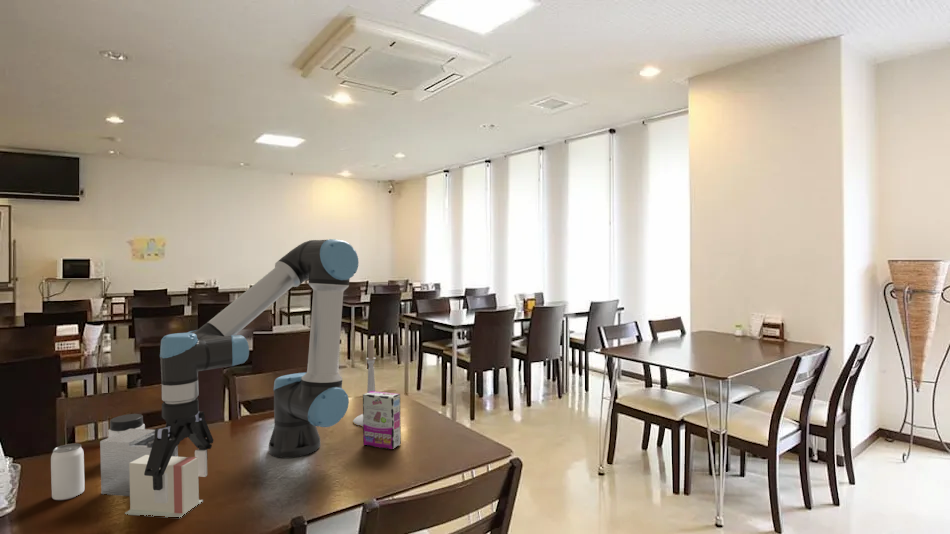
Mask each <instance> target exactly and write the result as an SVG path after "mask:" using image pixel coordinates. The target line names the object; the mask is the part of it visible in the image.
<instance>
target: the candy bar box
mask: <svg viewBox="0 0 950 534" xmlns="http://www.w3.org/2000/svg"><path fill="white" fill-rule="evenodd" d="M362 414H363V427H362V428H363V429H362V430H363V431H362V433H363V434H362V435H363V437H362V439H363V443H362V445H363V446H364V445H367V446H366V447H370V446H373V447H372V448H376V447H379V448H378V449H383V448H387V449H386V450H389V449H394V448H396V447H397V446H399V445H400V444H402V443H401V442H402V440H401V439H402V438H401V437H402V436H401V435H402V434H401V426H402V425H401V393H393V392H386V391H384V392H383V391H382V392H381V391H376V390H375V391H370V392H368V393H367V392H366V393H365V392H364V393H363V394H362ZM400 446H401V445H400ZM400 446H399V447H400ZM397 448H398V447H397ZM397 448H396V449H397ZM394 450H395V449H394Z"/></svg>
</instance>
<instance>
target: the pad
mask: <svg viewBox="0 0 950 534" xmlns="http://www.w3.org/2000/svg"><path fill="white" fill-rule="evenodd" d="M201 502H202V503H204V499H199V503H198V504H199V505H201V504H202V503H201ZM198 504H197V505H198ZM197 505H195V506H196V507H198V506H199V505H198V506H197ZM195 506H194V507H195ZM194 507H193V508H194ZM196 507H195V508H196ZM195 508H194V509H195ZM191 509H192V508H191ZM191 509H190V510H191ZM190 510H188V511H190ZM192 510H193V509H192ZM192 510H191V511H192ZM188 511H187V512H188ZM191 511H190V512H191ZM187 512H186V513H187ZM186 513H173V512H159V511H146V510H133V509H130V508H129V510H127V511H125V512H124V515H125V514H126V515H127V514H128V516H140V515H144V516H143V517H149V516H148V515H151V516H150V517H154V516H165V517H164V518H168V517H179V518H178V519H181V518H183V517H184V516H185V515H187V514H188V513H189V512H188V513H187V514H186ZM184 514H185V515H184ZM146 515H147V516H146ZM152 515H153V516H152ZM183 515H184V516H183ZM182 516H183V517H182ZM180 517H181V518H180Z"/></svg>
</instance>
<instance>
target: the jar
mask: <svg viewBox="0 0 950 534" xmlns="http://www.w3.org/2000/svg"><path fill="white" fill-rule="evenodd" d="M128 429H146V425H145V423H144V416H143V415H142V414H140V413H130V414H129V413H128V414H122V415H118V416H114V417H112V418H111V419H110V420H109V429H108V430H107V436H108V437H107V438H109V437H111V436H114V435H116V434H118V433H121V432H123V431H125V430H128Z"/></svg>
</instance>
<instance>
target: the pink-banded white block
mask: <svg viewBox="0 0 950 534" xmlns="http://www.w3.org/2000/svg"><path fill="white" fill-rule="evenodd" d="M148 459H149V455H144V456H142V457H140V458H138V459H136V460H134V461H132V462H130V463H129V473H130V496H129V506H130V507H129V510H130V509H133V510H146V511H159V512H173V513H186V512H187V511H188V510H190V509H191V508H193V507H194V506H195V505H197V504H198V503H199V500H200V493H199V489H200V488H199V476H198V458H196V457H195V456H187V457H186V456H178V457H175V456H171V459H170V461H169V463H168V465H167V468H166V470H165V472H164V473H167V480H168V502H167V503H155V499H154V489H153V477H152V476H145V475H144V472H145V469H146V466H147V462H148ZM151 470H152V469H151ZM159 470H160V469H159Z"/></svg>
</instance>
